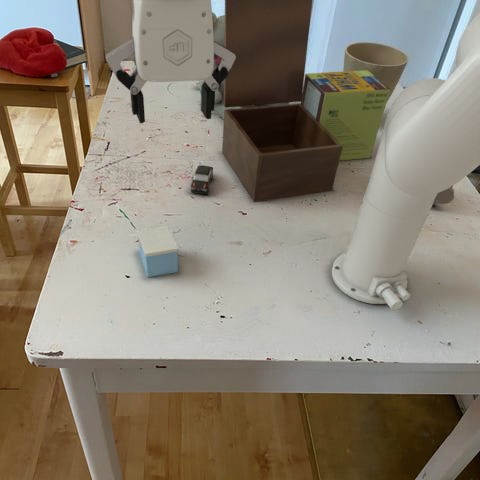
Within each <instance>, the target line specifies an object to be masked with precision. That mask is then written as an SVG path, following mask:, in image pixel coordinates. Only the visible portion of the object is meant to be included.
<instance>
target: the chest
mask: <svg viewBox="0 0 480 480" xmlns="http://www.w3.org/2000/svg"><path fill="white" fill-rule="evenodd" d="M222 127H223V129H222V146H221V147H222V148H221V154H222V155H223V157H224V158H225V160H226V162H227V163H228V165H229V166H230V168H231V169H232V171H233V172H234V174H235V175H236V177H237V178H238V180H239V181H240V183H241V185H242V186H243V187H244V189H245V191H246V192H247V194H248V196H249V197H250V199H251V200H252V202H253V203H254V202H255V203H256V202H263V201H268V200H274V199H275V200H276V199H282V198H289V197H297V196H303V195H311V194H318V193H325V192H332V190H333V187H334V183H335V179H336V176H337V171H338V167H339V165H340V164H339V163H340V161H339V160H340V156H341V152H342V148H343V146H342V145H341V144H340V143H339V142H338V141H337V140H336V139H335V138H334V137H333V136H332V135H331V134H330V133H329V132H328V131H327V130H326V129H325V128H324V127H323V126H322V125H321V124H320V123H319V122H318V121H317V120H316V119H315V118H314V117H313V116H312V115H311V114H310V113H309V112H308V111H307V110H306V109H305V108H304V107H303V106H302V105H301V102H297V103H289V104H286V105H274V106H261V107H258V106H251V107H250V106H248V107H243V108H236V109H224V119H223V126H222Z"/></svg>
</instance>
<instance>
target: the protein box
mask: <svg viewBox="0 0 480 480" xmlns="http://www.w3.org/2000/svg"><path fill="white" fill-rule="evenodd" d="M389 92H390V88H388V87H387V86H386V85H385V84H383V83H382V82H381V81H380V80H378V79H377V78H376V77H375V76H374V75H372V74H371V73H370V72H369V71H345V72H343V71H330V72H329V71H328V72H310V73H309V72H308V73H304V82H303V91H302V100H301V102H300V104H301V105H302V106H303V107H304V108H305V109H306V110H307V111H308V112H309V113H310V114H311V115H312V116H313V117H314V118H315V119H316V120H317V121H318V122H319V123H320V124H321V125H322V126H323V127H324V128H325V129H326V130H327V131H328V132H329V133H330V134H331V135H332V136H333V137H334V138H335V139H336V140H337V141H338V142H339V143H340V144H341V145H342V146H343V148H342V152H341V156H340V160H339V162H341V161H350V160H362V159H369V158H371V157H372V153H373V149H374V146H375V143H376V139H377V135H378V132H379V130H380V126H381V123H382V119H383V116H384V112H385V109H386V106H387V103H388V101H387V99H388V96H389Z"/></svg>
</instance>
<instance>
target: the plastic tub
mask: <svg viewBox="0 0 480 480" xmlns="http://www.w3.org/2000/svg"><path fill="white" fill-rule="evenodd" d="M136 234H137V237H138V247H139V248H138V249H139V257H140V258H141V261H142V264H143V267H144V270H145V273H146V277H147V278H151V277H152V278H153V277H158V276H162V275H163V276H164V275H170V274H173V273H174V274H175V273H179V269H178V268H179V266H178V265H179V262H178V260H179V259H178V252H179V248H178V245H177V242H176V240H175V239H174V235H173V233H172V231H171V229H170V226H169V225H163V226H162V225H161V226H157V227H156V226H155V227H149V228H143V229H137V230H136Z"/></svg>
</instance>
